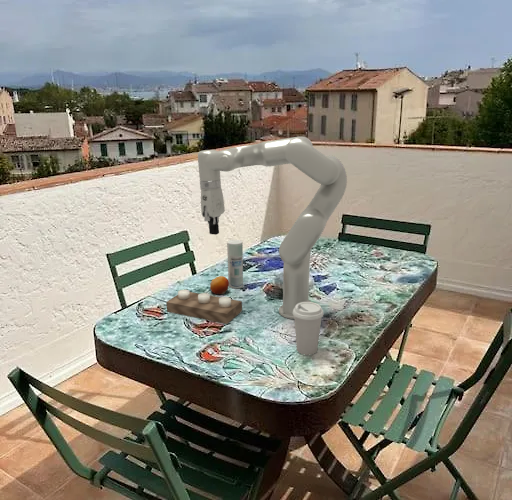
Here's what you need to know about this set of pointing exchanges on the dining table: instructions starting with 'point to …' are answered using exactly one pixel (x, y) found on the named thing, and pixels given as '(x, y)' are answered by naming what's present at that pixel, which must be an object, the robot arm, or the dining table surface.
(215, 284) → the fruit
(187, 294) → the knob far
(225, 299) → the knob near
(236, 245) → the spray can
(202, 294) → the knob mid
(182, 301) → the mount
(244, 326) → the dining table surface
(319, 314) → the coffee cup
